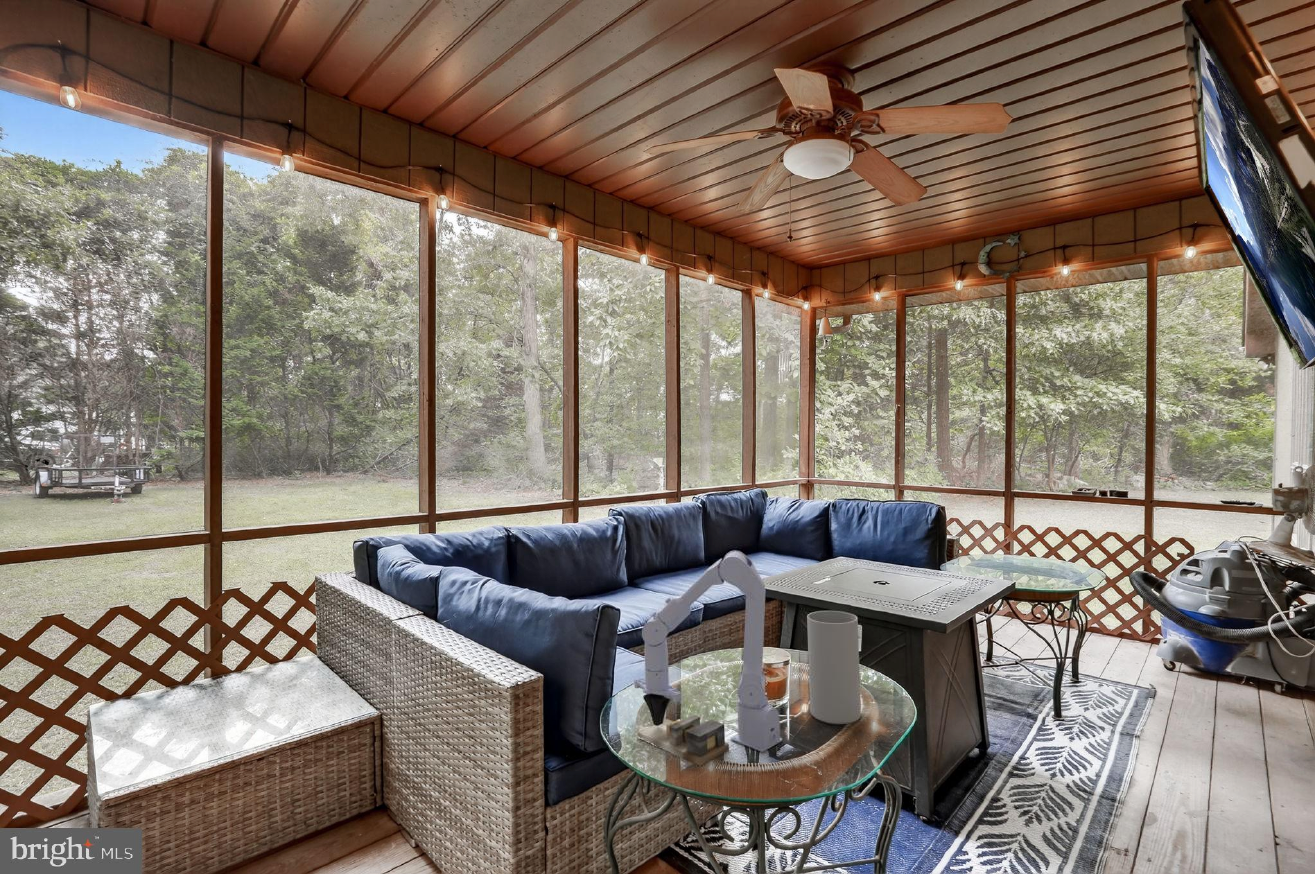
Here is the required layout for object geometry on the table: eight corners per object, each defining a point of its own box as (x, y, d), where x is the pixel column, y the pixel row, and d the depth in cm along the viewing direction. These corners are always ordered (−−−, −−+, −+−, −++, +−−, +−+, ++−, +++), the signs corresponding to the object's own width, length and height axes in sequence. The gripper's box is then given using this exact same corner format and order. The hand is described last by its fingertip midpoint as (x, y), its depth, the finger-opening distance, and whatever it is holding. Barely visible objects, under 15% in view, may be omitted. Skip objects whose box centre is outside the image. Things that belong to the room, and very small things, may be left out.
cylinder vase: (830, 729, 156) (826, 626, 156) (800, 710, 168) (797, 614, 168) (871, 719, 161) (868, 619, 161) (839, 701, 172) (836, 608, 173)
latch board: (729, 750, 147) (728, 723, 147) (699, 766, 140) (698, 738, 140) (667, 725, 161) (666, 700, 161) (637, 738, 154) (637, 713, 154)
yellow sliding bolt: (717, 745, 146) (717, 734, 146) (704, 752, 142) (704, 740, 143) (679, 729, 154) (679, 719, 154) (666, 735, 151) (666, 725, 151)
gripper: (624, 665, 159) (626, 720, 159) (666, 679, 148) (667, 738, 148) (645, 658, 164) (646, 711, 164) (686, 671, 153) (688, 728, 153)
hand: (658, 723), depth 156 cm, fingers closed
